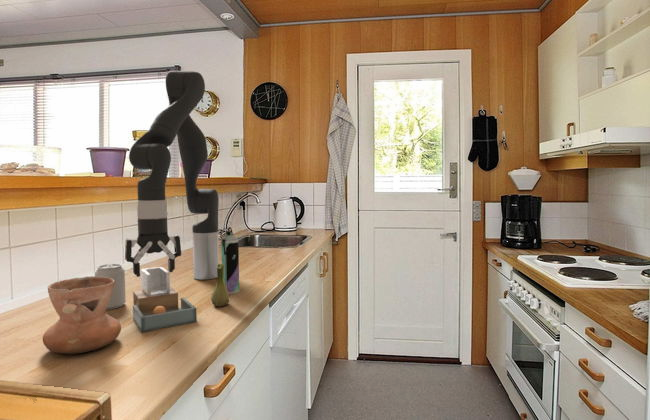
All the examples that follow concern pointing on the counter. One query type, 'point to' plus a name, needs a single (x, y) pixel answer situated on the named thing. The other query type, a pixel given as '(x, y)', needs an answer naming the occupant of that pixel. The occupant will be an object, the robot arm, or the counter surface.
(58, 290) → the ceramic jug
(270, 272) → the counter surface
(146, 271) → the chute
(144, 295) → the stand
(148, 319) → the tray
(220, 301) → the fennel bulb
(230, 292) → the spray can
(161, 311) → the ball
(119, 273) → the can
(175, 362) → the counter surface
